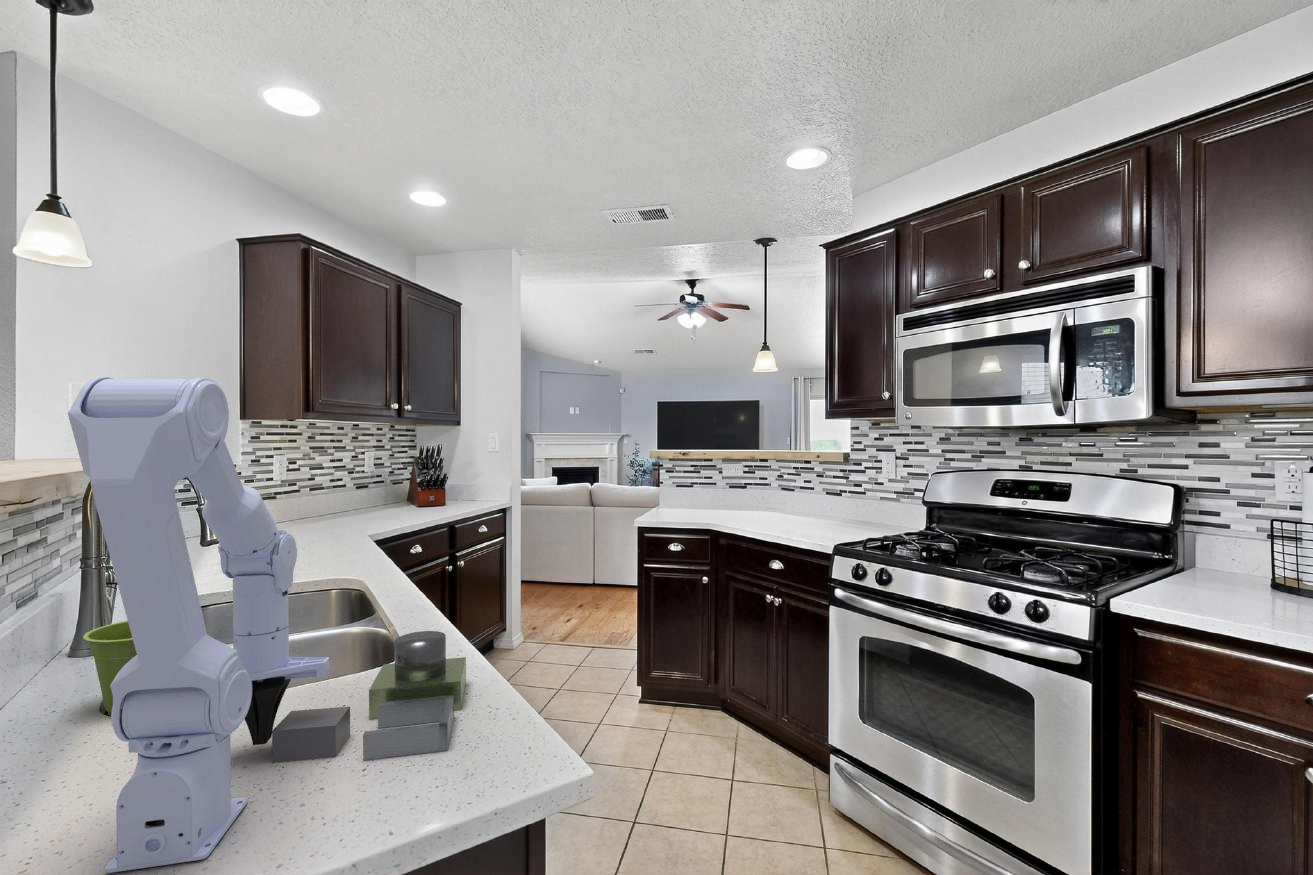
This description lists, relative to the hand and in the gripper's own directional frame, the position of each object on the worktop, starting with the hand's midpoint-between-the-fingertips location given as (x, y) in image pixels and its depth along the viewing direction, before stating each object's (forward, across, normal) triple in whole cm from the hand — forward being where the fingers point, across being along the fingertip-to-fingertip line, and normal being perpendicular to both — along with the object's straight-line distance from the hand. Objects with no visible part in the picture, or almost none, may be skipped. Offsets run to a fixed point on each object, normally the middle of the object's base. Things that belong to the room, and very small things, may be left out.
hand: (262, 740), depth 76 cm
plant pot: (+2, +23, -21) cm, 31 cm away
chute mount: (+2, -17, -6) cm, 18 cm away
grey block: (+2, -6, 0) cm, 6 cm away
